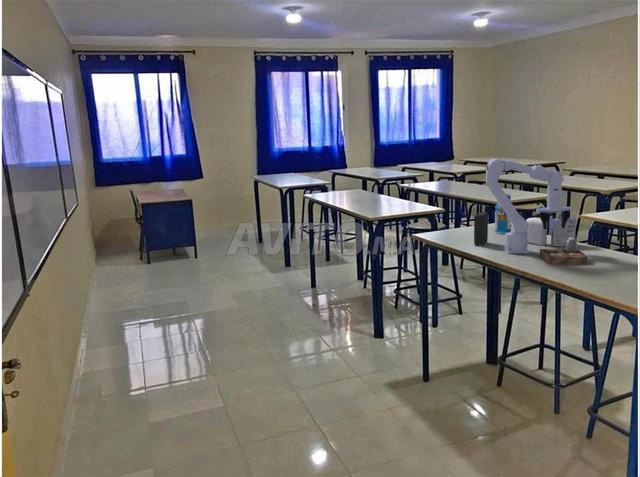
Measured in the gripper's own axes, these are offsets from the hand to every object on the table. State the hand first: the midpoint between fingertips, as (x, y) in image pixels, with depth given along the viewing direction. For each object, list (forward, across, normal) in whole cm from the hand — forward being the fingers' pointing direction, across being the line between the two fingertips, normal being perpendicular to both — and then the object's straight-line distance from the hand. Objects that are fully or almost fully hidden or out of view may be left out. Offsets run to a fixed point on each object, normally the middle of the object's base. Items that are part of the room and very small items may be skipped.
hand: (553, 228), depth 232 cm
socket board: (+10, 0, -14) cm, 17 cm away
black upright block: (+10, -29, +17) cm, 35 cm away
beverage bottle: (+10, -14, +40) cm, 44 cm away
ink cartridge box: (+11, +7, +11) cm, 17 cm away
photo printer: (+10, -4, +15) cm, 19 cm away
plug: (+10, +3, -12) cm, 17 cm away
